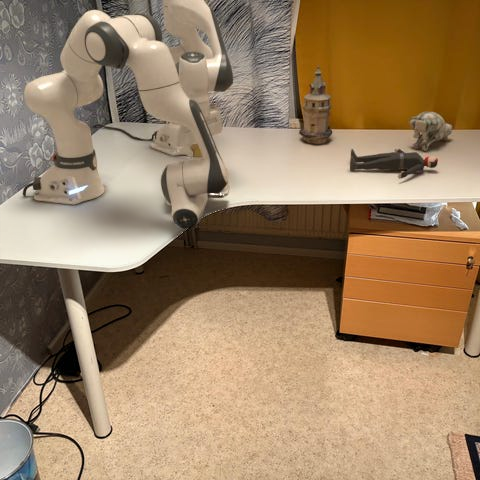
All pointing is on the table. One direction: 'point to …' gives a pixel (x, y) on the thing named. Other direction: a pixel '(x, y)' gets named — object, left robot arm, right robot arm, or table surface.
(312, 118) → the miniature building
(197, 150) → the lid
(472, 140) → the table surface
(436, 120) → the figurine
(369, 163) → the toy
